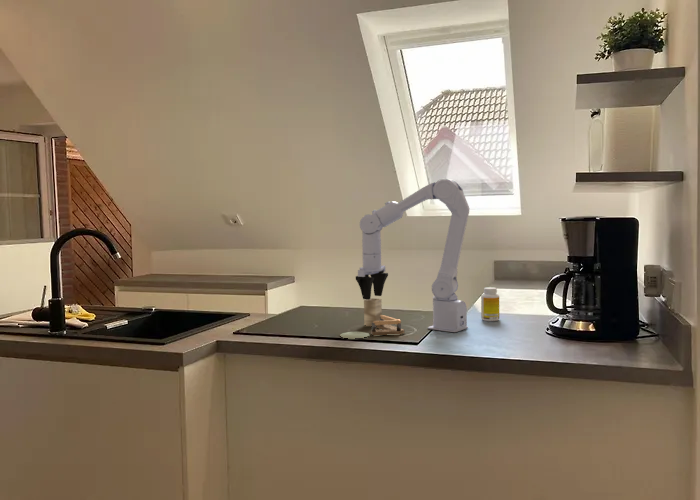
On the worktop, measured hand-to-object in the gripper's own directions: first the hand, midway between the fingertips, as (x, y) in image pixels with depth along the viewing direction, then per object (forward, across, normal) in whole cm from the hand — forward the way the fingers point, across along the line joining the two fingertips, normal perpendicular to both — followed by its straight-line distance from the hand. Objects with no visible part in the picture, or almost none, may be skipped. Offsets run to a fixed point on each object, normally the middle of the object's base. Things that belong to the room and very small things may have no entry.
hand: (372, 297), depth 180 cm
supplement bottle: (+9, -22, +30) cm, 39 cm away
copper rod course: (+9, +8, +8) cm, 15 cm away
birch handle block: (+9, 0, 0) cm, 9 cm away
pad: (+9, +16, +2) cm, 18 cm away
